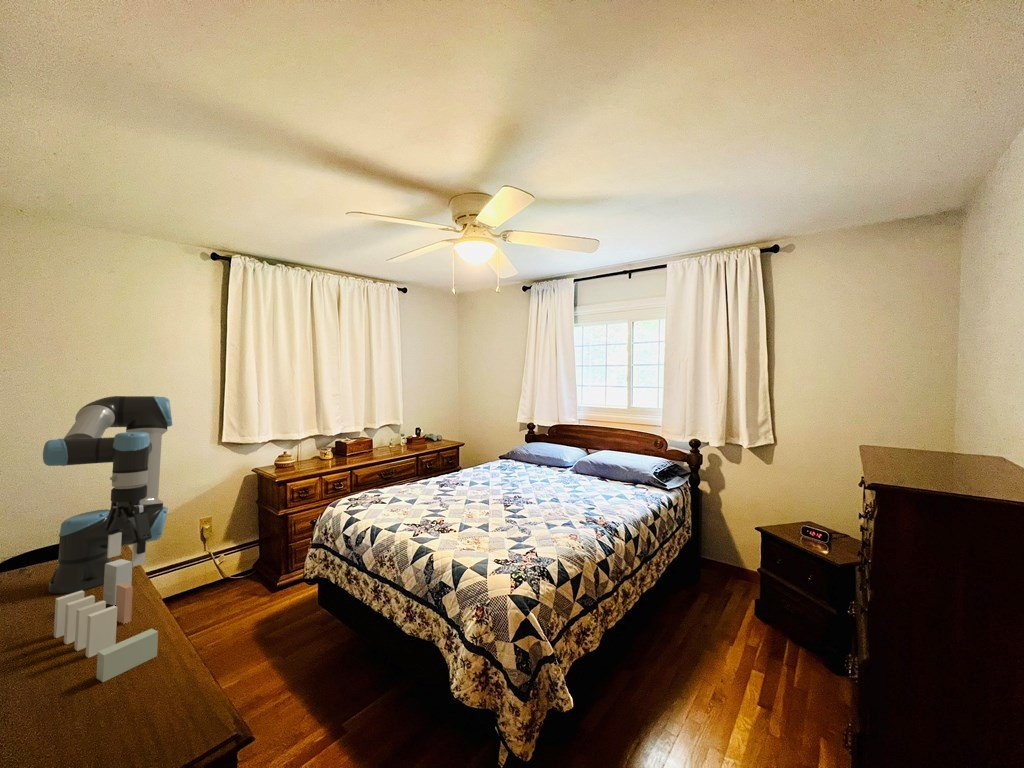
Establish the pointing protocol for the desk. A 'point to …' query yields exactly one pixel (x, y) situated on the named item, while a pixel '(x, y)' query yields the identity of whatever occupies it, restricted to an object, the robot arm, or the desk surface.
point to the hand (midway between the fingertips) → (125, 560)
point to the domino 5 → (124, 602)
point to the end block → (126, 654)
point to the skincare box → (116, 578)
